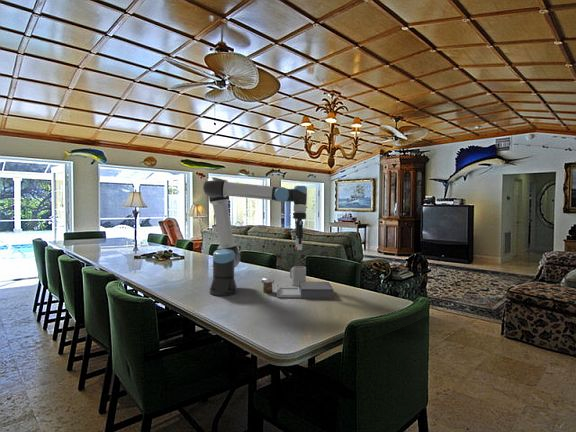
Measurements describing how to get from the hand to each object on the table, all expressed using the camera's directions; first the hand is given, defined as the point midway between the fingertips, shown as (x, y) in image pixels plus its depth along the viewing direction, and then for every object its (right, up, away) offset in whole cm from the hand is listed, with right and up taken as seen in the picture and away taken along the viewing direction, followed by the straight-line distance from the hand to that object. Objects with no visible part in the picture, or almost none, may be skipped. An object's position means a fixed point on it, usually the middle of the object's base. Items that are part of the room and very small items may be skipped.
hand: (298, 248), depth 201 cm
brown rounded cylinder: (-18, -24, -8) cm, 31 cm away
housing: (+9, -24, -11) cm, 28 cm away
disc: (-18, -18, -8) cm, 26 cm away
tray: (-3, -24, -12) cm, 27 cm away
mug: (-1, -24, +11) cm, 26 cm away
